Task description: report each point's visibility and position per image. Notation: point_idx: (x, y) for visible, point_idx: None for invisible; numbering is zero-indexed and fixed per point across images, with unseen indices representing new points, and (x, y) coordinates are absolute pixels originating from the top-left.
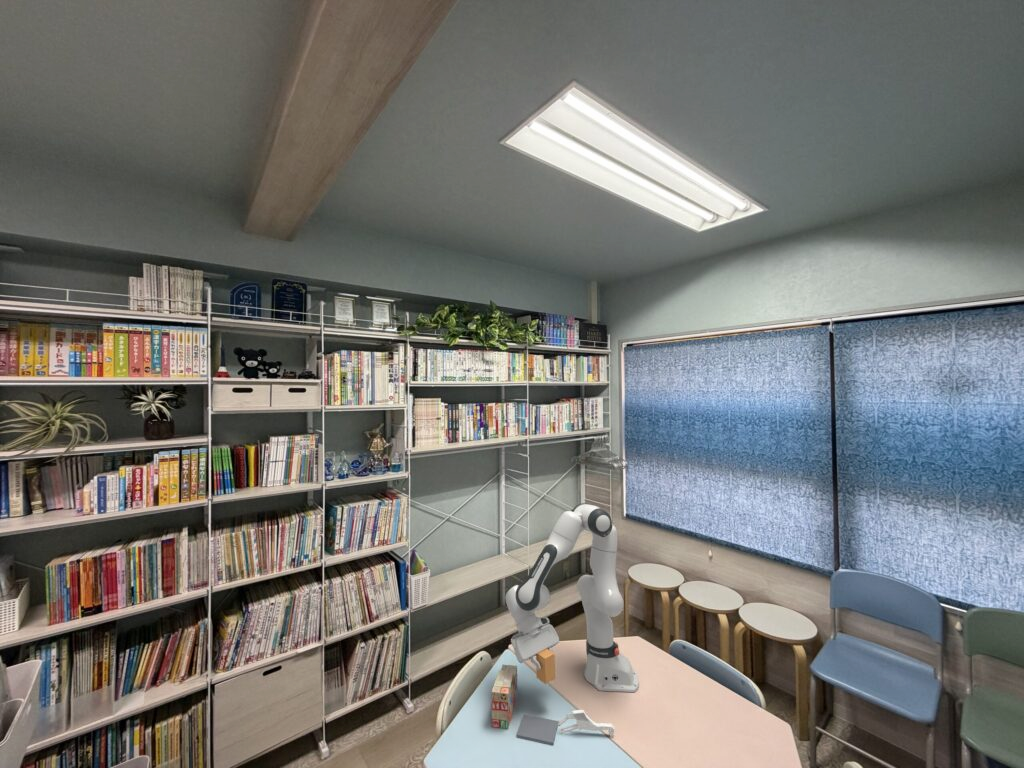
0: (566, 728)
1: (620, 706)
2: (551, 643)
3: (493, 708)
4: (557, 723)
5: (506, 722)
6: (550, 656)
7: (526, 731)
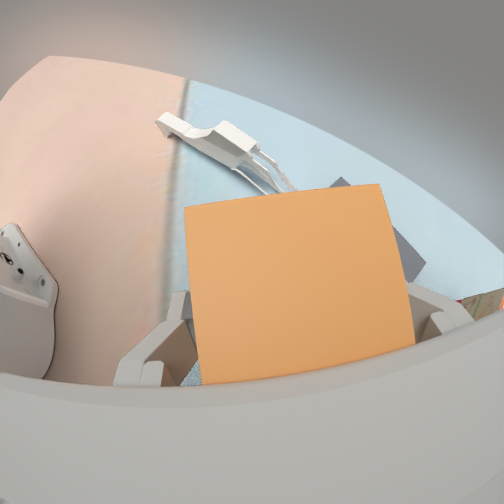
0: None
1: (68, 201)
2: (79, 402)
3: None
4: None
5: None
6: (276, 195)
7: None
